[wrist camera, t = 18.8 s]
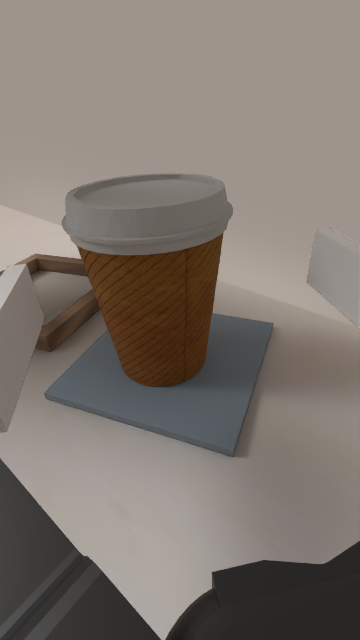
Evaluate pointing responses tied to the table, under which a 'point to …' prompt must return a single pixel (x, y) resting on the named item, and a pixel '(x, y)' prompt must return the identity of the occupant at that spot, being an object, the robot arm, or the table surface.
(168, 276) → the disposable coffee cup
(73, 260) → the cup holder frame
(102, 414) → the rubber mat
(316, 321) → the table surface
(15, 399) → the robot arm
